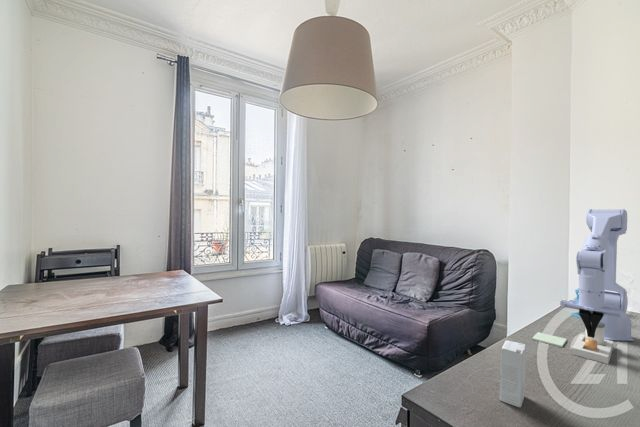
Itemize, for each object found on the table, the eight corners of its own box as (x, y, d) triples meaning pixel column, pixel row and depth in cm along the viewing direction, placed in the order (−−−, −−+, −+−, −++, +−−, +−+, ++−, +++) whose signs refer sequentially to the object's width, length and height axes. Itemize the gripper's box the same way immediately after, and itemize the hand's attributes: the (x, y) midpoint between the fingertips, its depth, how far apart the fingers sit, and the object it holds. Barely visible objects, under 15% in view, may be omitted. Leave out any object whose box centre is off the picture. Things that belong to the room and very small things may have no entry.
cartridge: (595, 344, 99) (595, 319, 99) (609, 351, 94) (609, 325, 94) (580, 344, 99) (580, 319, 99) (593, 350, 94) (593, 324, 94)
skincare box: (503, 389, 73) (504, 338, 73) (526, 396, 70) (526, 343, 70) (498, 401, 68) (499, 347, 68) (522, 409, 65) (523, 353, 65)
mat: (537, 333, 108) (537, 331, 108) (566, 340, 102) (566, 338, 102) (531, 339, 102) (531, 338, 102) (561, 347, 96) (561, 345, 96)
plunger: (585, 345, 93) (585, 337, 93) (598, 348, 91) (598, 340, 91) (584, 347, 91) (584, 340, 91) (596, 350, 89) (596, 343, 89)
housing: (580, 339, 102) (580, 333, 102) (613, 347, 96) (613, 341, 96) (571, 354, 91) (571, 347, 91) (608, 364, 86) (608, 357, 86)
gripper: (558, 288, 94) (557, 332, 93) (625, 298, 83) (624, 348, 83) (562, 284, 98) (562, 327, 98) (626, 293, 88) (626, 341, 88)
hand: (591, 336), depth 91 cm, fingers closed
